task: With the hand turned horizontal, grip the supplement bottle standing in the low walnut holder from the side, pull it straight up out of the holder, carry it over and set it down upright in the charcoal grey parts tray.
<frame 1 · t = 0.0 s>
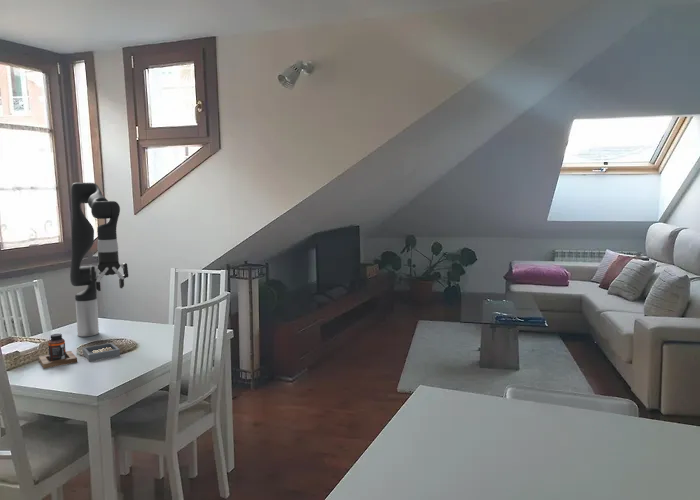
hand: (110, 289, 215), 29 cm above the table, tool pointing down, fingers open, 8 cm apart
parts tray: (101, 354, 223), on the table
walnut holder: (58, 361, 215), on the table
supplement bottle: (58, 362, 215), resting in walnut holder
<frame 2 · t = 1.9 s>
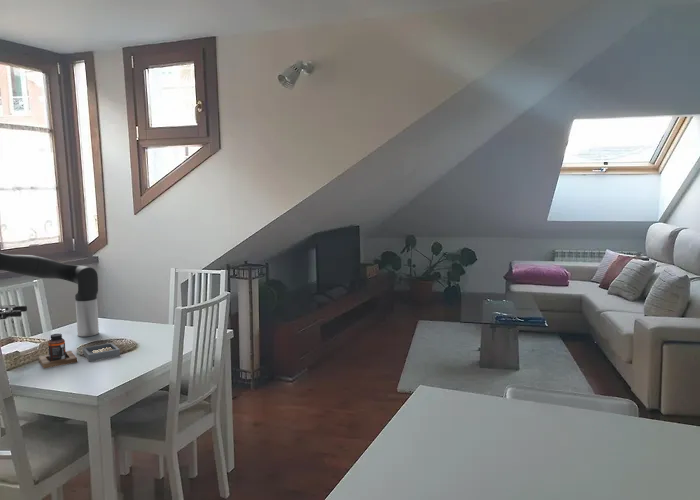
hand: (24, 310, 208), 22 cm above the table, tool horizontal, fingers open, 8 cm apart
nothing on the table moved.
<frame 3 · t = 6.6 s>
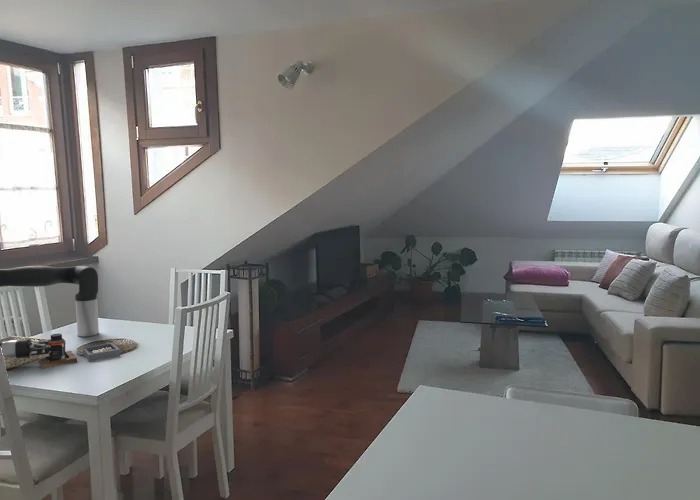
hand: (63, 345, 215), 7 cm above the table, tool horizontal, fingers closed on supplement bottle, 6 cm apart
supplement bottle: (58, 361, 215), resting in walnut holder, touching gripper
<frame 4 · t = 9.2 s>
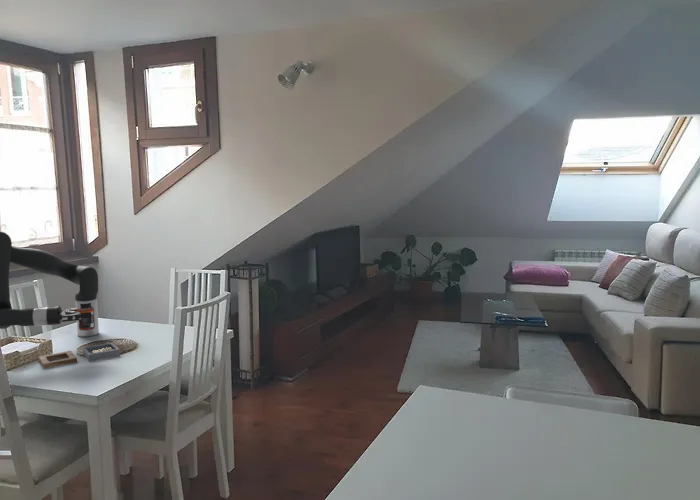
hand: (92, 313, 219), 19 cm above the table, tool horizontal, fingers closed on supplement bottle, 6 cm apart
supplement bottle: (87, 329, 219), point 12 cm above the table, touching gripper
when the fingers open (9 cm above the table, at t = 11.9 s): supplement bottle drops 1 cm, resting on parts tray.
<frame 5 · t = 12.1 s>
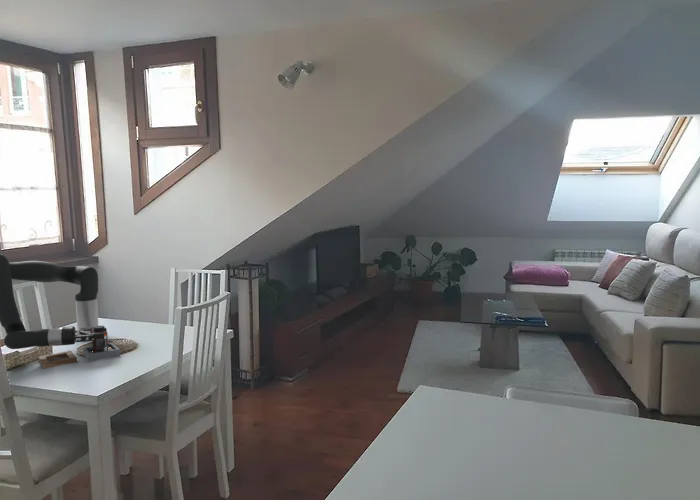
hand: (105, 332, 222), 9 cm above the table, tool horizontal, fingers open, 7 cm apart
supplement bottle: (100, 352, 223), point 1 cm above the table, touching parts tray
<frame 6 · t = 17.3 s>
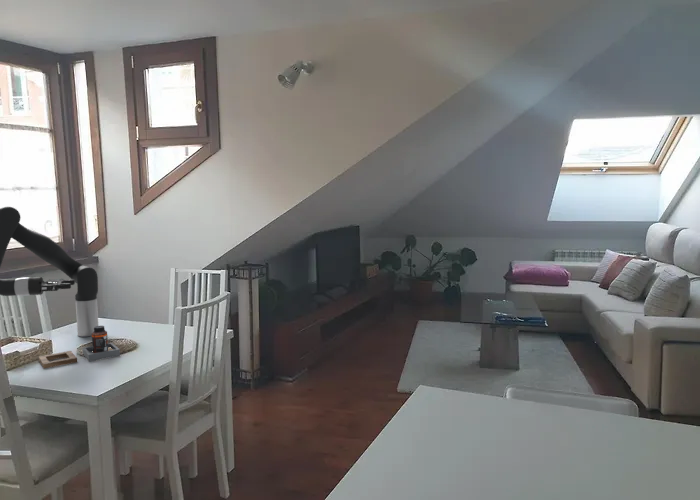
hand: (72, 283, 223), 30 cm above the table, tool horizontal, fingers open, 8 cm apart
nothing on the table moved.
at the end: supplement bottle 0.1 cm off-centre on the parts tray, point 0.8 cm above the parts tray's base; supplement bottle tilted 0°; the gripper is holding nothing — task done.
